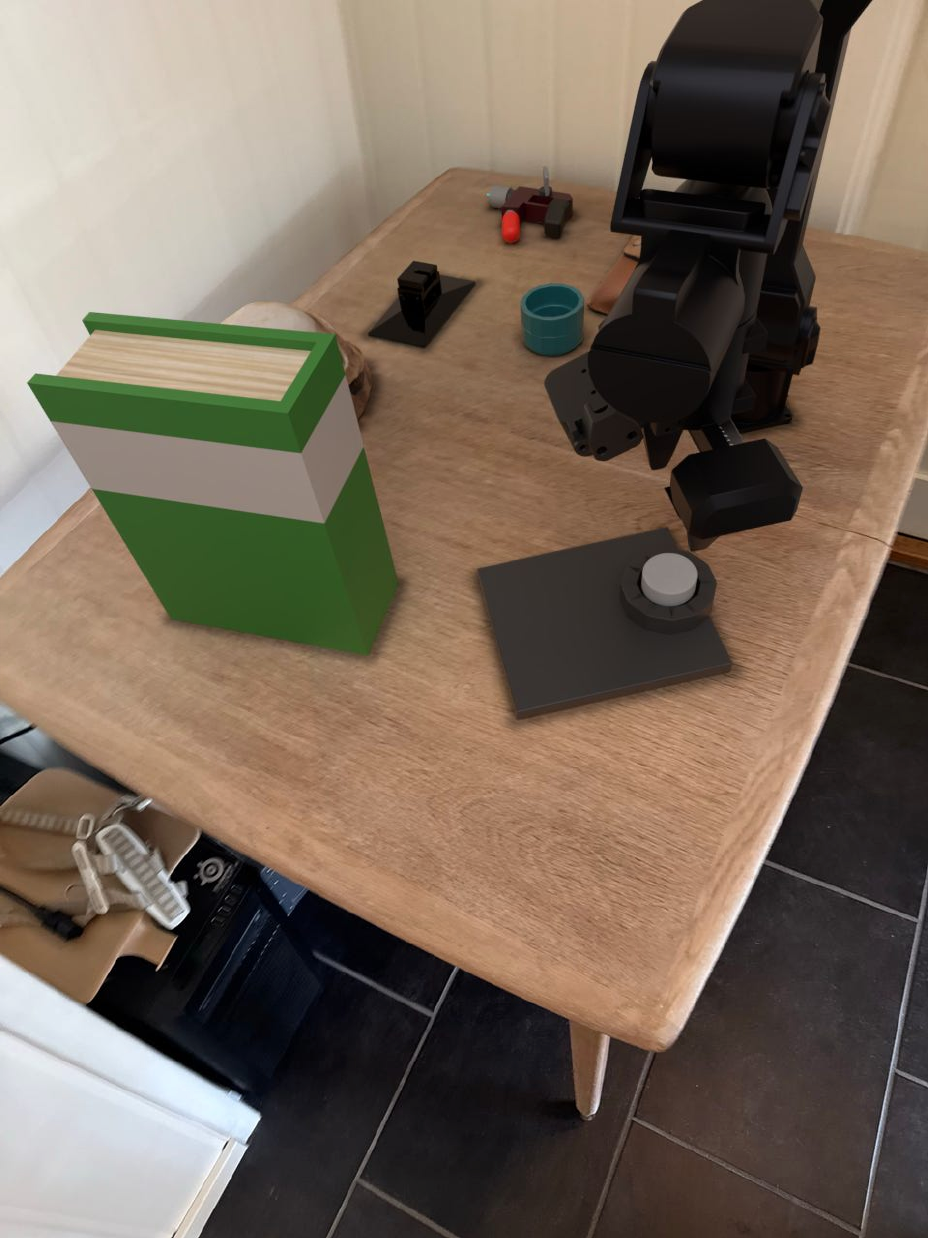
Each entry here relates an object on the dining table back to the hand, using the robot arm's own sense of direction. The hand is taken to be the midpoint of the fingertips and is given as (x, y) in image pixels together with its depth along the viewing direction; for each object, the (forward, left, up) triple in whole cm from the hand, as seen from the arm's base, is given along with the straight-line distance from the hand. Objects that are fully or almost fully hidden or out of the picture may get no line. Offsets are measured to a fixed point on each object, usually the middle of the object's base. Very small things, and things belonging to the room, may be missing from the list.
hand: (676, 506), depth 60 cm
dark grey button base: (+5, 0, -11) cm, 12 cm away
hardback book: (+29, -9, -11) cm, 33 cm away
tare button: (0, 0, -8) cm, 8 cm away
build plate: (+11, -46, -11) cm, 49 cm away
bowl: (-1, -36, -11) cm, 38 cm away
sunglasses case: (-13, -44, -11) cm, 47 cm away
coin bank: (+26, -32, -11) cm, 43 cm away
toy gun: (-3, -59, -11) cm, 60 cm away
